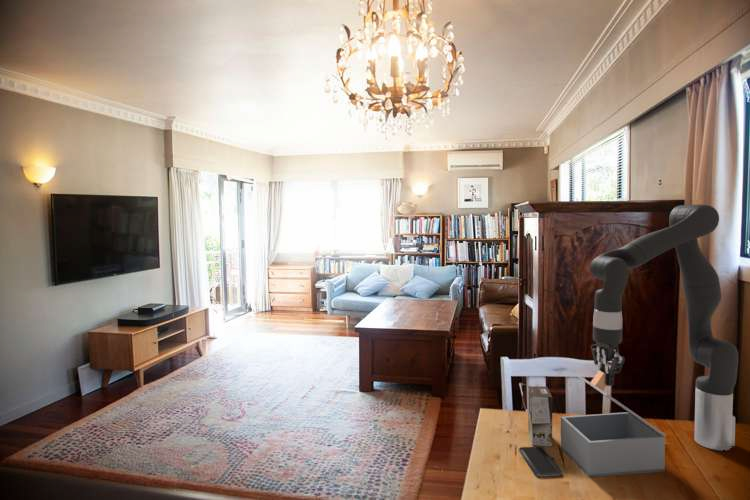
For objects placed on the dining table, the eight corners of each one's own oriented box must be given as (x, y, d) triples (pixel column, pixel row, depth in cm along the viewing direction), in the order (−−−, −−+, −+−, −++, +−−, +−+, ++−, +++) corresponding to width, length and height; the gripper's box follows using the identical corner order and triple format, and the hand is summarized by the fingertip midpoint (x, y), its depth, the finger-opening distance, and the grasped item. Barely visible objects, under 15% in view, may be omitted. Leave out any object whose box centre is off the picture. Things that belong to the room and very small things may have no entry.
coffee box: (553, 447, 140) (553, 397, 139) (531, 445, 141) (531, 396, 140) (547, 433, 149) (547, 386, 148) (527, 431, 150) (527, 385, 149)
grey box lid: (628, 411, 140) (637, 398, 140) (665, 436, 124) (675, 421, 124) (575, 375, 138) (584, 361, 138) (606, 395, 122) (616, 380, 122)
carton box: (627, 442, 141) (628, 412, 140) (664, 471, 125) (665, 437, 124) (560, 447, 139) (560, 416, 139) (589, 477, 123) (589, 442, 123)
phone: (536, 475, 124) (518, 447, 139) (536, 479, 124) (518, 450, 139) (564, 474, 124) (543, 446, 139) (564, 477, 124) (543, 449, 139)
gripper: (635, 330, 122) (634, 392, 124) (605, 319, 136) (604, 374, 138) (609, 332, 122) (608, 393, 123) (582, 320, 136) (581, 375, 137)
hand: (606, 383), depth 130 cm, fingers closed on grey box lid, 2 cm apart
